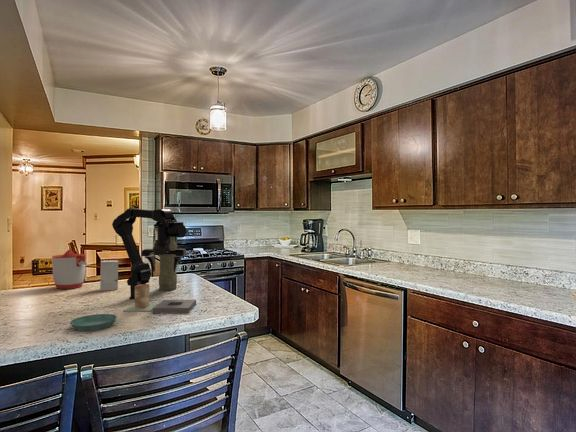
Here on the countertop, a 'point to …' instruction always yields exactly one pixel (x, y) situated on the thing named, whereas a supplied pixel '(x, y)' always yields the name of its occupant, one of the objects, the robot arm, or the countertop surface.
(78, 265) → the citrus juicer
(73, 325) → the saucer
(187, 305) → the grey flat square slab
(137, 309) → the rubber mat
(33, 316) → the countertop surface
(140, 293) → the wooden plug
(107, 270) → the skincare box
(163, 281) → the thermos
